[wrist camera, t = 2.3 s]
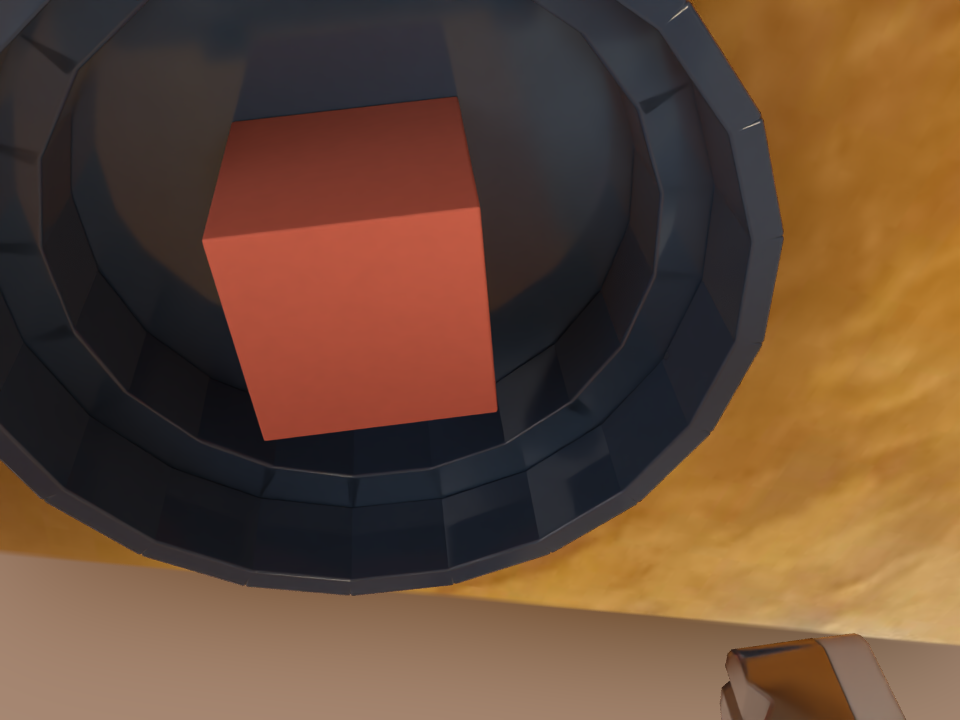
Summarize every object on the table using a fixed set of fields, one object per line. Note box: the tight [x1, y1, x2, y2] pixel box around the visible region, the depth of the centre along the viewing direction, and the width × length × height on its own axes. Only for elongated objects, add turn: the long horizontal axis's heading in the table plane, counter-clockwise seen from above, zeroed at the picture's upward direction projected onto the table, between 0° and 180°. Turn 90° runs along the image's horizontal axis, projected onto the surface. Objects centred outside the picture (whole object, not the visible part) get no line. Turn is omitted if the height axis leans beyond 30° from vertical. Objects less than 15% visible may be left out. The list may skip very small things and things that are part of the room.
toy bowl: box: [0, 0, 784, 596], centre depth 19 cm, size 15×15×5 cm
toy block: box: [202, 97, 498, 441], centre depth 18 cm, size 5×5×5 cm
